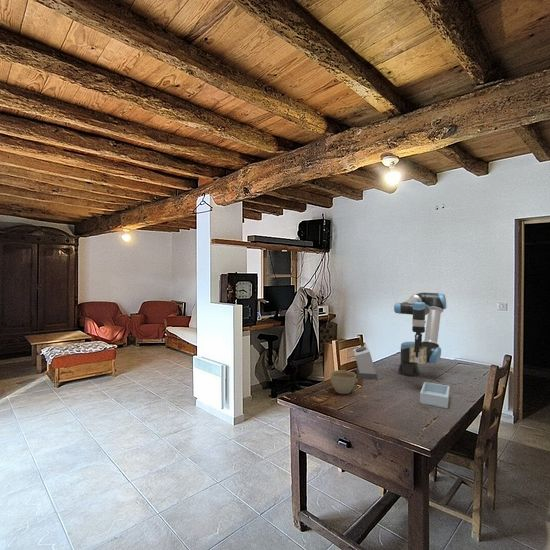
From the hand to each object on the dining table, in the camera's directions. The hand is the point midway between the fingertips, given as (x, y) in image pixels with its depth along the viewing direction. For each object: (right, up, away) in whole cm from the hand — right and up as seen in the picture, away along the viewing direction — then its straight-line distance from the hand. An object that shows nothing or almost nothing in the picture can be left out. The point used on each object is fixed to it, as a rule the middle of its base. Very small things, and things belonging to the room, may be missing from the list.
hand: (417, 360), depth 216 cm
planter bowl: (-50, -17, -8) cm, 54 cm away
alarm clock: (-27, -17, +27) cm, 42 cm away
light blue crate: (+2, -18, -19) cm, 26 cm away
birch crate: (0, -1, 0) cm, 1 cm away
